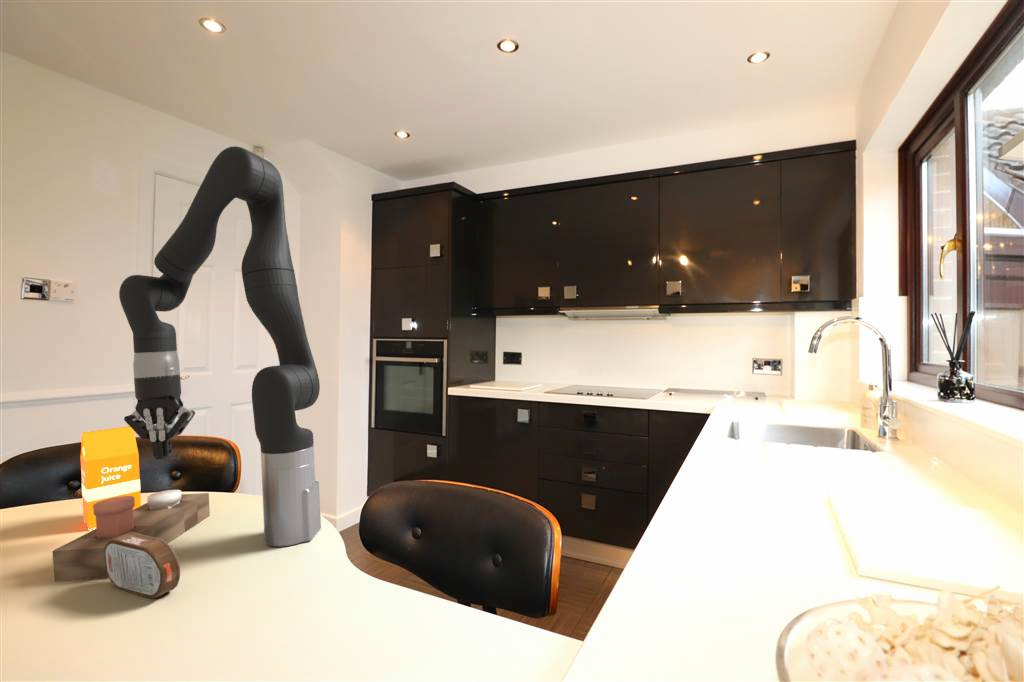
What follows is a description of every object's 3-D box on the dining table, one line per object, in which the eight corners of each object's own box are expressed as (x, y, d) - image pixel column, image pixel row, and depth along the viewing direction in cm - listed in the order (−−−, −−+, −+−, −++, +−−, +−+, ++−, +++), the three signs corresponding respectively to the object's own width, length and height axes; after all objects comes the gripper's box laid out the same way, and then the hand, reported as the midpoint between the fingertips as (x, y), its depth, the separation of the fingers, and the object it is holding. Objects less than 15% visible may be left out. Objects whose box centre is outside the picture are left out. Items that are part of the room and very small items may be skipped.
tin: (183, 594, 71) (180, 539, 71) (160, 606, 68) (158, 549, 68) (123, 577, 77) (121, 527, 77) (100, 587, 74) (98, 535, 74)
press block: (209, 515, 103) (208, 493, 103) (118, 576, 77) (117, 546, 77) (162, 518, 102) (161, 495, 102) (54, 581, 76) (52, 550, 76)
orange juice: (142, 517, 103) (137, 427, 103) (88, 531, 97) (83, 434, 96) (134, 509, 108) (130, 423, 108) (83, 522, 102) (78, 430, 101)
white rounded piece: (188, 519, 99) (187, 488, 99) (171, 530, 93) (169, 498, 93) (161, 521, 99) (159, 490, 99) (141, 532, 93) (140, 499, 93)
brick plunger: (143, 530, 86) (142, 494, 86) (120, 543, 80) (118, 506, 80) (111, 531, 86) (110, 496, 85) (86, 545, 80) (84, 508, 80)
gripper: (202, 371, 100) (207, 451, 100) (136, 374, 99) (142, 456, 99) (179, 373, 92) (185, 461, 92) (108, 377, 91) (114, 466, 91)
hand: (162, 458), depth 96 cm, fingers closed
